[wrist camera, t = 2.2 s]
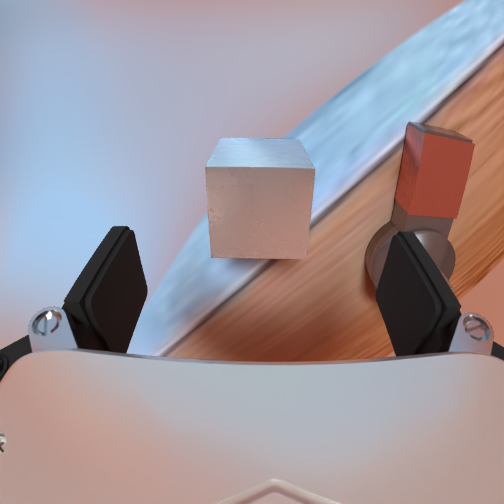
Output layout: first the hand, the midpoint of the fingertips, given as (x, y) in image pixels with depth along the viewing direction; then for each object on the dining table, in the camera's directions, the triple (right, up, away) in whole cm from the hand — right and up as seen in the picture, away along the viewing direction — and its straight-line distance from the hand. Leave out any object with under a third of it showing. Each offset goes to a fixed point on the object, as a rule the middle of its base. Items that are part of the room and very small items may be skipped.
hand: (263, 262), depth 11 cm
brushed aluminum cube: (0, +5, +9) cm, 11 cm away
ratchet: (+12, +3, +11) cm, 16 cm away
